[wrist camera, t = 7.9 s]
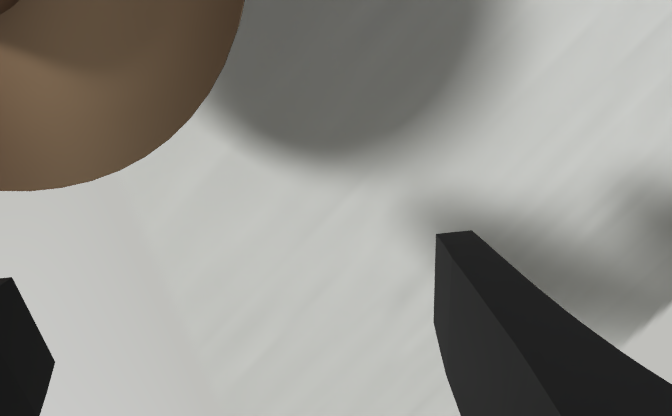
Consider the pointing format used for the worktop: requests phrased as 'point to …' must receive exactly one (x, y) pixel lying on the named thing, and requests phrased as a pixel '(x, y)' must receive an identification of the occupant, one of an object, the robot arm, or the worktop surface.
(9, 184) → the walnut lid
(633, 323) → the worktop surface
